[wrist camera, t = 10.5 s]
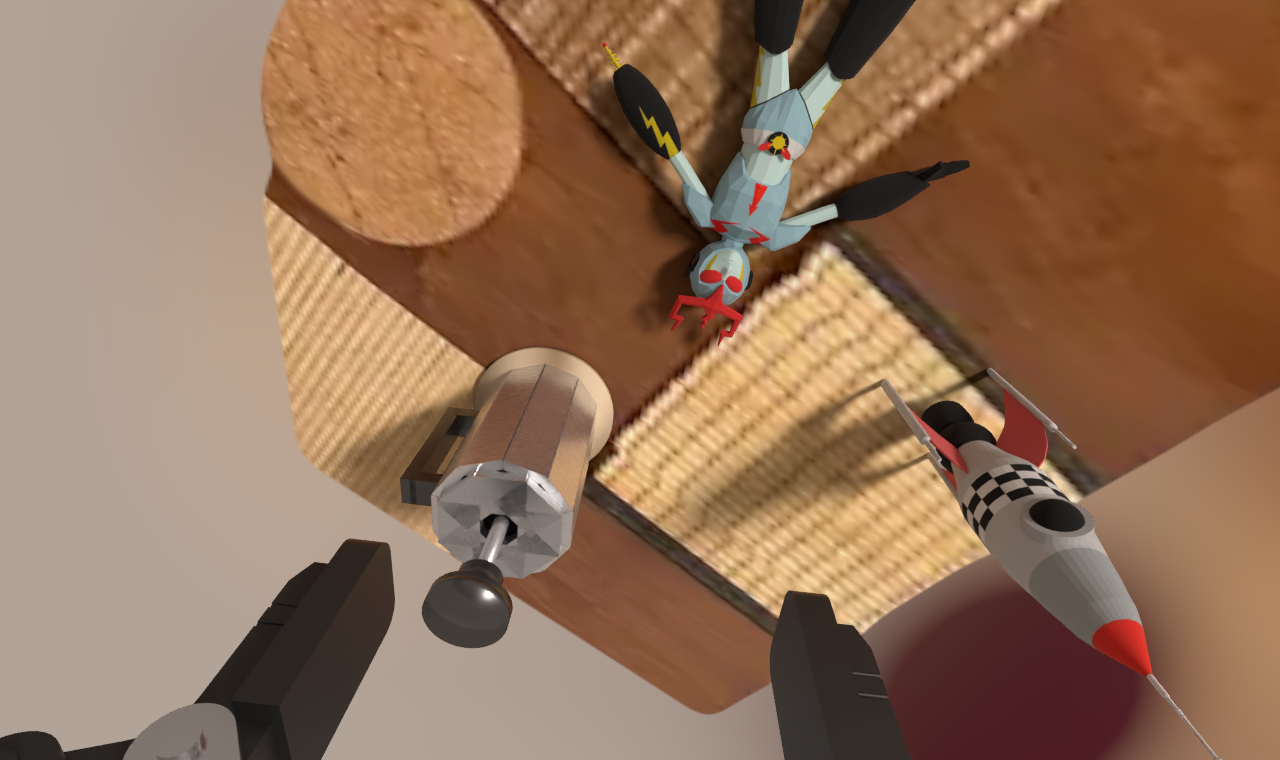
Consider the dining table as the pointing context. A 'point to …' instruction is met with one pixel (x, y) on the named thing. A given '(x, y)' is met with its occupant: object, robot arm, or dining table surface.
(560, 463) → the french press
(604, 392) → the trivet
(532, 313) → the dining table surface
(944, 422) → the toy
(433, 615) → the plunger
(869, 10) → the toy
